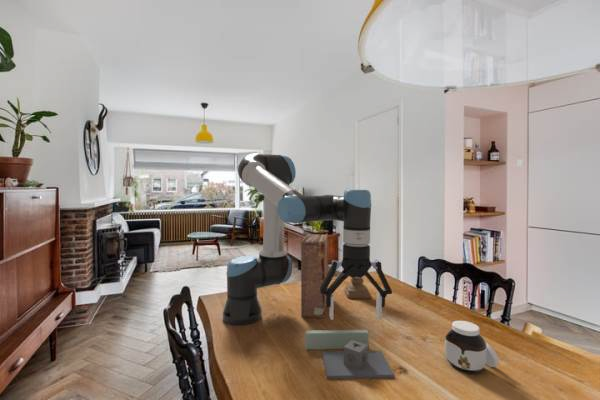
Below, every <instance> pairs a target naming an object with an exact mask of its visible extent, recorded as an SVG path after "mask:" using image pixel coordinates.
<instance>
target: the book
mask: <svg viewBox="0 0 600 400" xmlns="http://www.w3.org/2000/svg"><path fill="white" fill-rule="evenodd" d="M328 241H329V238H328V233H326V234H316V233H315V234H314V233H313V234H310V232H308V233H307V234H306V235H305V236H304V238H303V239H302V240H301V242H300V247H301V248H300V253H301V254H300V255H301V256H300V258H301V259H300V260H301V262H300V265H301V266H300V271H301V272H300V273H301V275H300V278H301V279H300V280H301V281H300V282H301V283H300V284H301V285H300V289H301V290H300V295H301V296H300V298H301V303H300V307H301V308H300V309H301V311H300V313H301V315H300V316H301V317H303V318H305V317H307V318H319V319H320V318H322V319H323V318H324V319H325V317H326V311H327V310H326V309H327V305H326V295H325V294H321V292H320V287H321V285H322V283H323V281H324V280H325V278H326V276H327V274H328V272H329V269H328V268H329V267H328V259H329V257H328V252H329V251H328V249H329V248H328V245H329V243H328ZM328 288H329V286H328V287H327V289H328Z"/></svg>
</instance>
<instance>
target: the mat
mask: <svg viewBox="0 0 600 400" xmlns="http://www.w3.org/2000/svg"><path fill="white" fill-rule="evenodd" d="M322 360H323V364H324V370H325V374H326V379H327V380H333V379H334V380H338V379H343V380H344V379H383V378H384V379H389V378H395V373H394V371H393V369H392V368H391V366H390V364H389V363H388V361H387V359H386V357H385V355H384V354H383V352H382V350H368V362H367V363H366V364H365V365H364V366H363V367H362V369H361V370H357V369H355V368H352V367H350V366H347V365H345V364H344V350H339V351H337V350H336V351H334V350H333V351H322Z"/></svg>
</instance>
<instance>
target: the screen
mask: <svg viewBox="0 0 600 400" xmlns="http://www.w3.org/2000/svg"><path fill="white" fill-rule="evenodd" d="M369 332H370V331H368V329H335V330H334V329H333V330H332V329H328V330H327V329H326V330H321V329H319V330H315V329H314V330H305V337H304V338H305V339H304V340H305V343H304V344H305V350H332V349H333V350H334V349H335V350H339V349H340V350H341V349H343V350H344V346H345V345H346V344H347V343H349V342H350V341H351V340H354V341H357V342H360V343H363V344H366V345H368V349H369V348H370V347H369V346H370V345H369V343H370V340H369V339H370V337H369V336H370V333H369Z"/></svg>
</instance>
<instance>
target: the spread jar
mask: <svg viewBox="0 0 600 400" xmlns="http://www.w3.org/2000/svg"><path fill="white" fill-rule="evenodd" d="M444 354H445V358H446V360H447V361H448V362H449V364H450V365H451V366H452V367H453V368H455V369H456V370H458V371H460V372H463V373H466V374H477V373H479V372H481V371H483V369H484V368H485V366H486V365H487V366H489V367H491V368H495V367H496V366H499V364H500V359H499V356H498V355H497V353H496V351H495V350H494V349H493V347H492V345H490V344H489V343H488V342H486V341H485V338H483V336H482V335H481V334H480V327H479V326H478V325H477V324H475V323H473V322H470V321H468V320H454V321H453V322H451V329H450V330H449V331H448V332H447V333H446V335H445V339H444Z"/></svg>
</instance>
